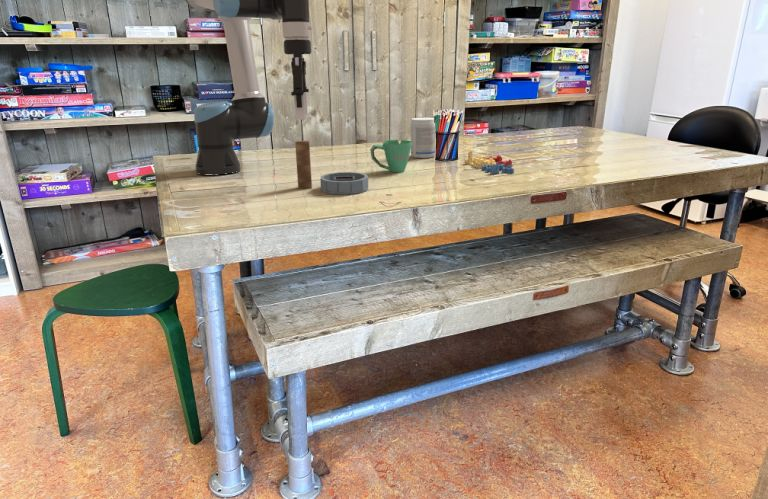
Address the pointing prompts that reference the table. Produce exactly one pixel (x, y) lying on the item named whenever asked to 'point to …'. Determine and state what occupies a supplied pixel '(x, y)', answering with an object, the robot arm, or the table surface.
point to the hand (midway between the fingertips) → (301, 117)
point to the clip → (344, 178)
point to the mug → (394, 154)
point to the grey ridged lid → (344, 183)
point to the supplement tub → (422, 137)
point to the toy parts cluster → (490, 164)
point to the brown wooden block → (303, 164)
